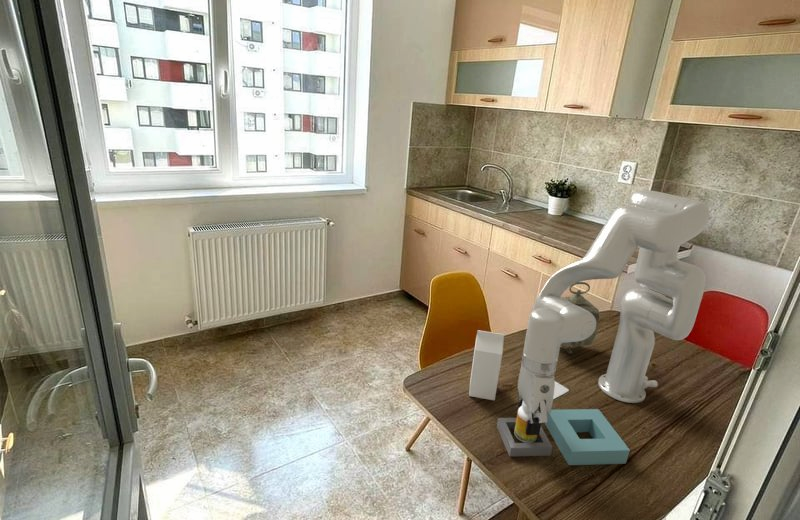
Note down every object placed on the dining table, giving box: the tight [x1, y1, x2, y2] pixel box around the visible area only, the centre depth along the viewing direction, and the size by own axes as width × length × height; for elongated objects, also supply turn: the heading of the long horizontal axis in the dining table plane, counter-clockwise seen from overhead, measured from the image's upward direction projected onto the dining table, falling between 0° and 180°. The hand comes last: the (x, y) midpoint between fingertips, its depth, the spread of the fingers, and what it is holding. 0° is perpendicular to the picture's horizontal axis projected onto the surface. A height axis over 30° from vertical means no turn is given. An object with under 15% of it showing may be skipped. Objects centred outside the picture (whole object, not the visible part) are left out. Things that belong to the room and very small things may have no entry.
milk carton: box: [468, 329, 505, 401], centre depth 120 cm, size 7×7×19 cm
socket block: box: [544, 408, 631, 466], centre depth 106 cm, size 14×14×4 cm
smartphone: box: [517, 380, 570, 401], centre depth 125 cm, size 7×1×15 cm
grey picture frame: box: [496, 417, 553, 457], centre depth 106 cm, size 10×10×2 cm
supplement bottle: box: [513, 400, 539, 443], centre depth 105 cm, size 5×5×10 cm
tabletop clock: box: [561, 281, 600, 355], centre depth 142 cm, size 14×9×25 cm, turn 98°
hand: (527, 424), depth 105 cm, fingers closed on supplement bottle, 5 cm apart
